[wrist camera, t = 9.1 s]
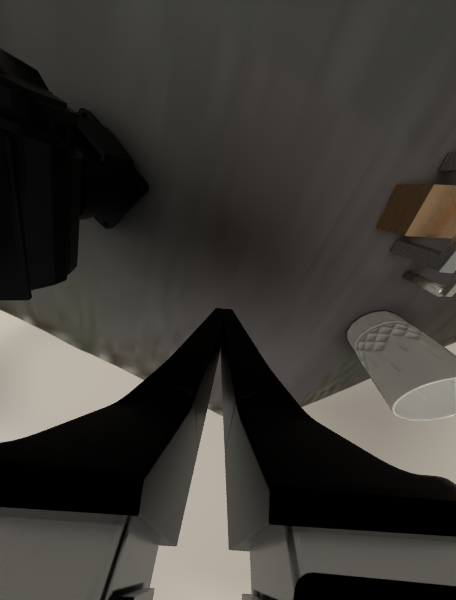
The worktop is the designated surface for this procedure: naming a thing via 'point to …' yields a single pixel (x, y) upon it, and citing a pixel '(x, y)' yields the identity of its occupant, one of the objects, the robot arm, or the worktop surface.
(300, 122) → the worktop surface
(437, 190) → the taped cardboard box
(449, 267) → the gray bracket rail
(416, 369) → the white cup
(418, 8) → the worktop surface
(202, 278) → the worktop surface
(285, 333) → the worktop surface
